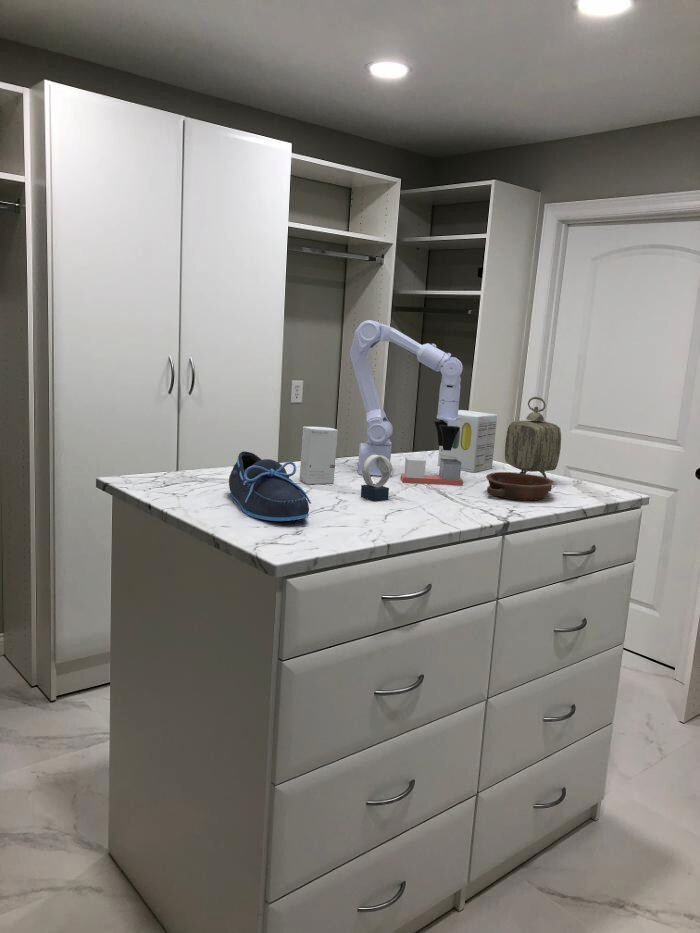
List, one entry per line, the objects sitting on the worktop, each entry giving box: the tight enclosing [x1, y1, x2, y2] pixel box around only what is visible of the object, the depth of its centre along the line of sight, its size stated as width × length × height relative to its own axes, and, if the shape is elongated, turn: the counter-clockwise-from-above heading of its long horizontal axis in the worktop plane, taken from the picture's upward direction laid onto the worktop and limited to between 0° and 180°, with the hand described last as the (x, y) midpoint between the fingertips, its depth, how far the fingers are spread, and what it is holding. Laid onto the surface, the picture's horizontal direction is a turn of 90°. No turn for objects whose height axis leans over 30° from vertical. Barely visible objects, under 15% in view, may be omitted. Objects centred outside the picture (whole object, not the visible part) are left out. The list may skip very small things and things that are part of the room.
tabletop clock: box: [504, 396, 562, 480], centre depth 224 cm, size 14×9×25 cm, turn 31°
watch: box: [360, 455, 393, 503], centre depth 189 cm, size 6×8×11 cm
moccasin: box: [228, 450, 312, 522], centre depth 172 cm, size 14×34×12 cm, turn 33°
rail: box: [400, 456, 464, 487], centre depth 214 cm, size 17×5×6 cm, turn 94°
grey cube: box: [438, 459, 462, 480], centre depth 215 cm, size 5×5×5 cm
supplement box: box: [437, 409, 498, 473], centre depth 241 cm, size 13×13×18 cm
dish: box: [486, 471, 554, 502], centre depth 204 cm, size 18×22×5 cm
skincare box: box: [299, 426, 339, 485], centre depth 204 cm, size 8×6×15 cm
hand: (444, 448), depth 218 cm, fingers open, 7 cm apart
